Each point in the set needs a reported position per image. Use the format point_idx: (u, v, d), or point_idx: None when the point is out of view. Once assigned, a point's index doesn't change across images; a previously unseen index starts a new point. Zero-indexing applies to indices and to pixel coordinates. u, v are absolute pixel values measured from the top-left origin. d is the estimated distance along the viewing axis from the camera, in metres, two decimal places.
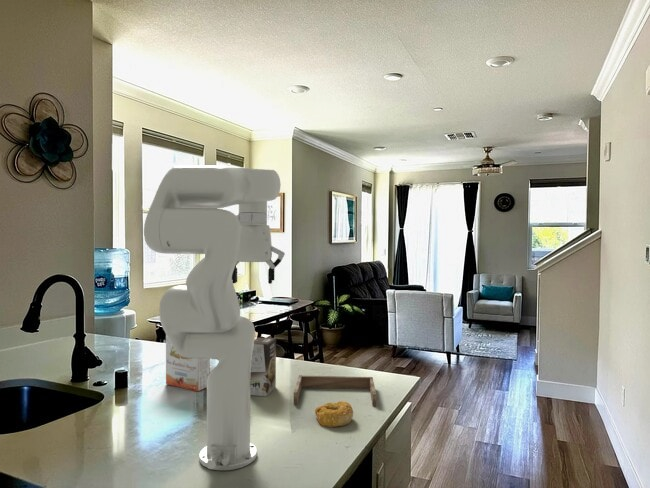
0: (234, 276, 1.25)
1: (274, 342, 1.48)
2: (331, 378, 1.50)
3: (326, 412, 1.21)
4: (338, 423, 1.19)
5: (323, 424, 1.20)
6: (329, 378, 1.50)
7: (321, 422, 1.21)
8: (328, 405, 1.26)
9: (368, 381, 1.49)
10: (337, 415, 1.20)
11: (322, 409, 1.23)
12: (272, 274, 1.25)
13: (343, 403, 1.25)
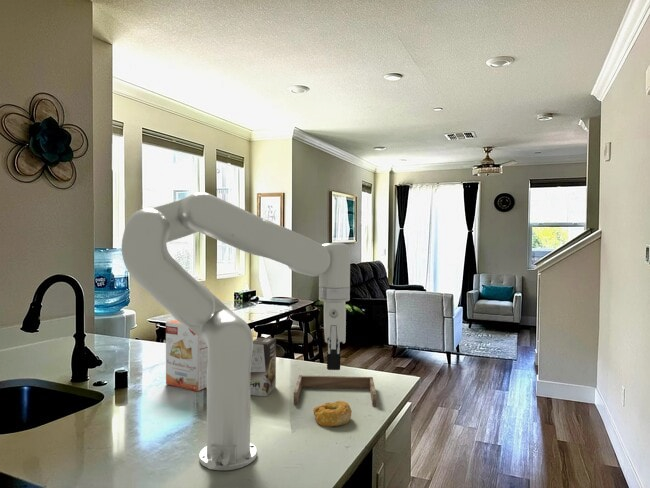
0: None
1: (274, 342, 1.48)
2: (331, 378, 1.50)
3: (324, 412, 1.21)
4: (336, 423, 1.19)
5: (321, 424, 1.21)
6: (329, 378, 1.50)
7: (319, 422, 1.21)
8: (326, 405, 1.26)
9: (368, 381, 1.49)
10: (335, 415, 1.20)
11: (320, 409, 1.23)
12: None
13: (341, 403, 1.25)
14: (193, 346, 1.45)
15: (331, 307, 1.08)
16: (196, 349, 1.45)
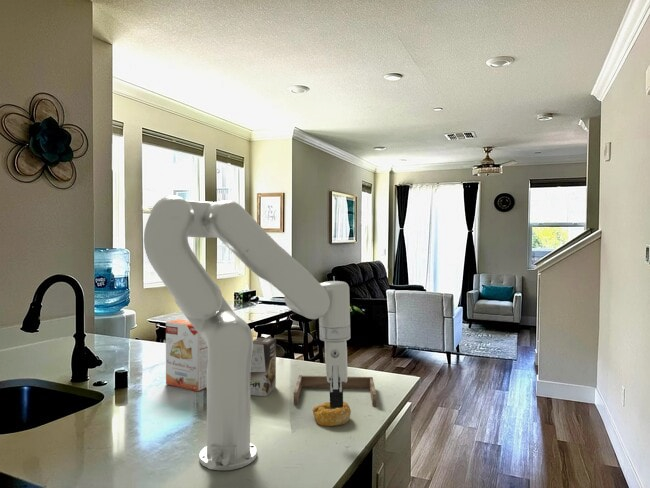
0: None
1: (274, 342, 1.48)
2: None
3: (324, 411, 1.21)
4: (336, 422, 1.20)
5: (321, 423, 1.21)
6: None
7: (319, 421, 1.21)
8: (326, 404, 1.27)
9: (368, 381, 1.49)
10: (335, 414, 1.20)
11: (320, 408, 1.23)
12: None
13: None
14: (193, 346, 1.45)
15: (332, 347, 1.08)
16: (196, 349, 1.45)
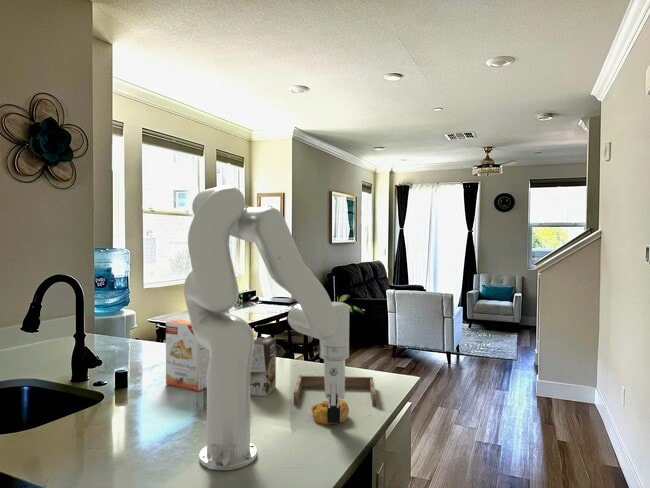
0: None
1: (274, 342, 1.48)
2: None
3: (322, 410, 1.22)
4: None
5: (319, 421, 1.22)
6: None
7: (317, 419, 1.22)
8: (324, 403, 1.28)
9: (368, 381, 1.49)
10: None
11: (318, 407, 1.24)
12: None
13: (339, 401, 1.26)
14: (193, 346, 1.45)
15: (331, 365, 1.14)
16: (196, 349, 1.45)
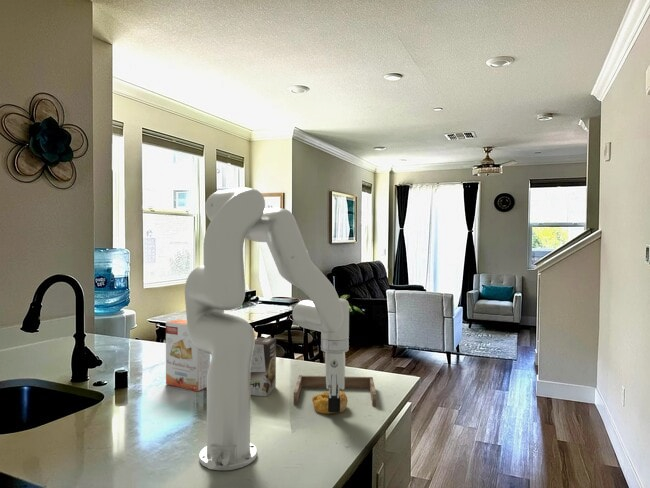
0: None
1: (274, 342, 1.48)
2: None
3: (321, 400, 1.29)
4: None
5: (319, 411, 1.29)
6: None
7: (317, 409, 1.29)
8: (325, 394, 1.35)
9: (368, 381, 1.49)
10: None
11: (318, 397, 1.31)
12: None
13: None
14: (193, 346, 1.45)
15: (332, 358, 1.21)
16: (196, 349, 1.45)
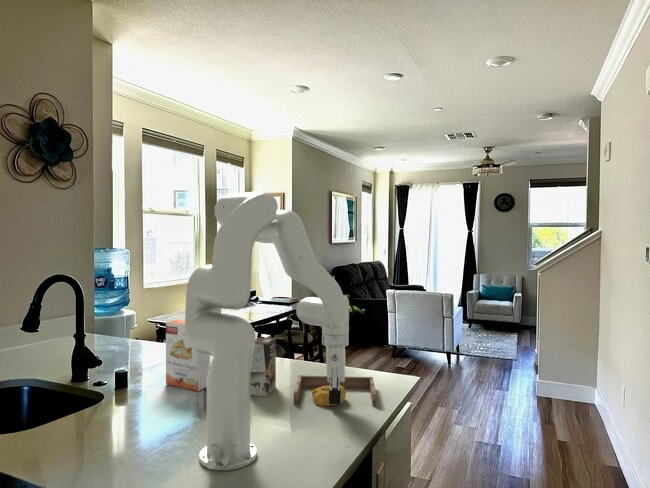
0: None
1: (274, 342, 1.48)
2: None
3: (321, 393, 1.35)
4: None
5: (318, 403, 1.35)
6: None
7: (317, 402, 1.35)
8: (324, 387, 1.41)
9: (368, 381, 1.49)
10: None
11: (318, 390, 1.37)
12: None
13: None
14: None
15: (332, 352, 1.27)
16: None
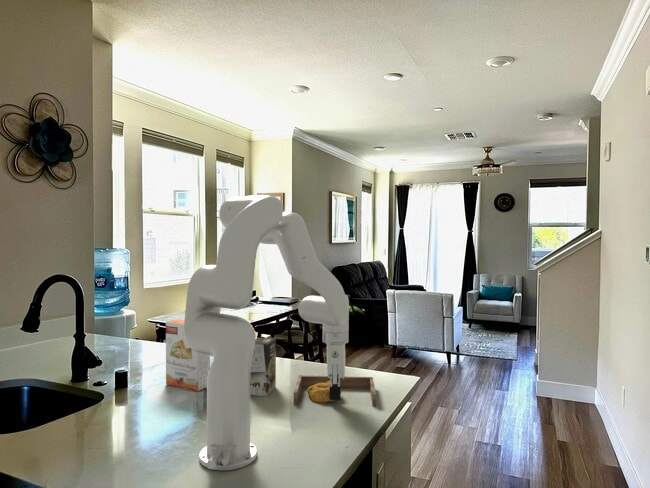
0: None
1: (274, 342, 1.48)
2: None
3: (318, 390, 1.38)
4: (329, 399, 1.36)
5: (315, 400, 1.37)
6: (329, 378, 1.50)
7: (314, 399, 1.38)
8: (319, 384, 1.43)
9: (368, 381, 1.49)
10: (328, 392, 1.37)
11: (314, 388, 1.40)
12: None
13: None
14: None
15: (333, 349, 1.30)
16: None
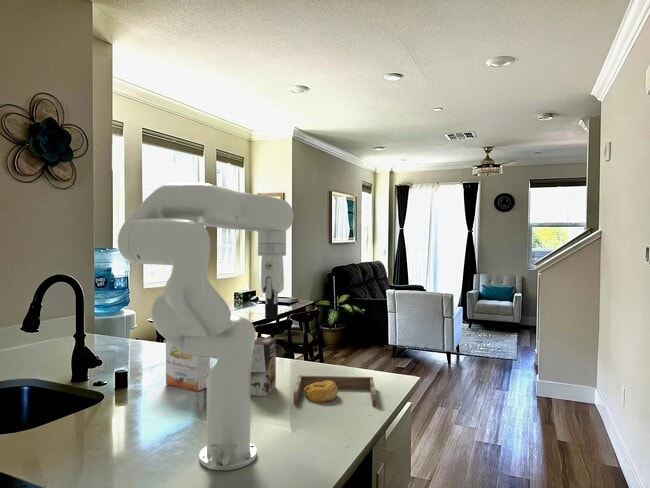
0: None
1: (274, 342, 1.48)
2: (331, 378, 1.50)
3: (315, 389, 1.38)
4: (325, 398, 1.37)
5: (312, 400, 1.38)
6: (329, 378, 1.50)
7: (310, 398, 1.38)
8: (315, 384, 1.44)
9: (368, 381, 1.49)
10: (324, 391, 1.37)
11: (311, 387, 1.40)
12: None
13: (329, 382, 1.42)
14: None
15: (267, 260, 1.19)
16: None
